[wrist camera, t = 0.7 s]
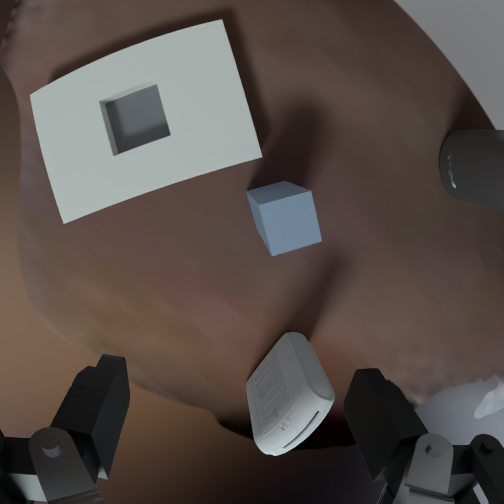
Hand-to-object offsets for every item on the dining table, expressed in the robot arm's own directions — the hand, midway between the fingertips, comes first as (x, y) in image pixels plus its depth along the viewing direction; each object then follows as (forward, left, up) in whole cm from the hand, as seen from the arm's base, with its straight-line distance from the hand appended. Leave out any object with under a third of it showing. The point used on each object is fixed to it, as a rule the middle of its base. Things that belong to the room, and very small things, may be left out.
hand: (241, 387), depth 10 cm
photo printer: (-1, +18, -24) cm, 30 cm away
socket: (+5, -13, -23) cm, 27 cm away
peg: (-5, -1, -23) cm, 24 cm away
